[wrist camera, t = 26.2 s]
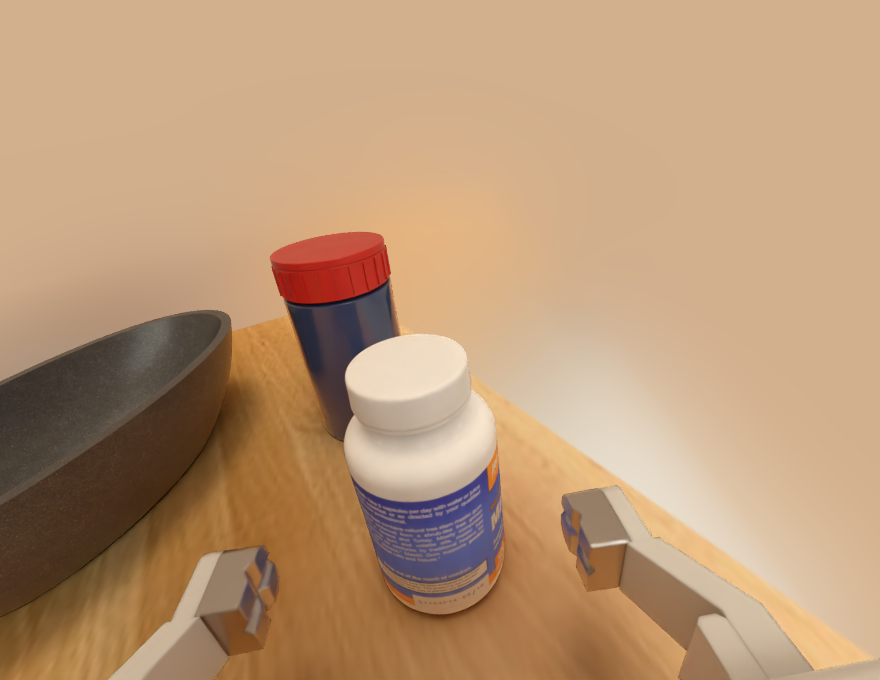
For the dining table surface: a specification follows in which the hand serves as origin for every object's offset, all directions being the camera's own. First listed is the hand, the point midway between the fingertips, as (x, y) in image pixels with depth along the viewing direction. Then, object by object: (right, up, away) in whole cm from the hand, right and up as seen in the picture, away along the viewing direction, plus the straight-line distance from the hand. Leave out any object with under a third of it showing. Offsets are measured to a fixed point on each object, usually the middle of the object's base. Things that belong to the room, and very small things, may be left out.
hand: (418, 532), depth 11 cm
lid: (-5, +10, +11) cm, 16 cm away
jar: (-4, 0, +16) cm, 16 cm away
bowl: (-18, -3, +12) cm, 22 cm away
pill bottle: (+1, -4, +6) cm, 8 cm away
